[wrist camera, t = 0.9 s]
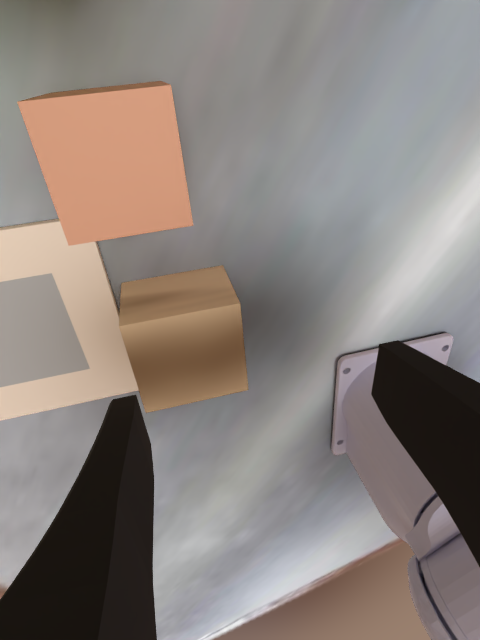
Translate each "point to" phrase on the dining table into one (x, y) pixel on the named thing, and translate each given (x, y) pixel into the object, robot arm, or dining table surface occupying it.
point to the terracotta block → (110, 159)
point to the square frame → (56, 323)
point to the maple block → (183, 337)
